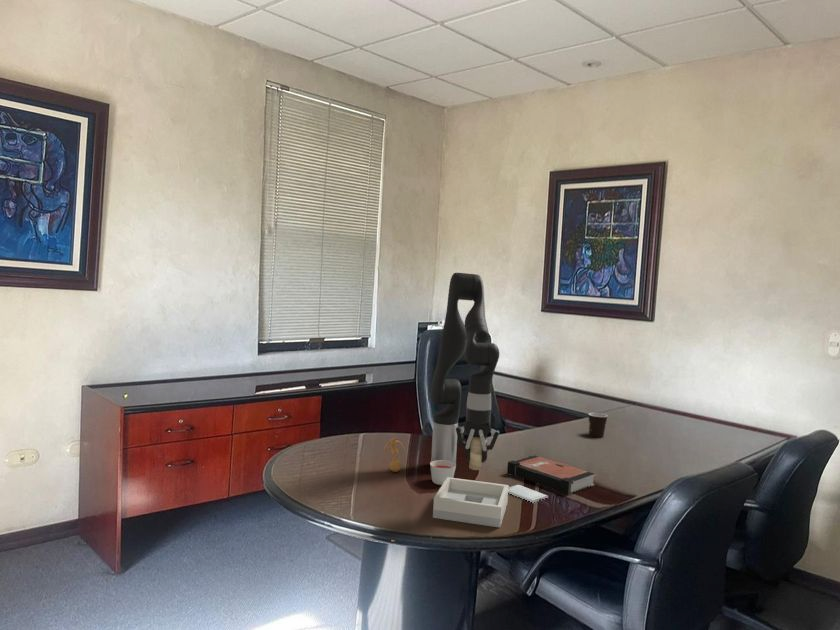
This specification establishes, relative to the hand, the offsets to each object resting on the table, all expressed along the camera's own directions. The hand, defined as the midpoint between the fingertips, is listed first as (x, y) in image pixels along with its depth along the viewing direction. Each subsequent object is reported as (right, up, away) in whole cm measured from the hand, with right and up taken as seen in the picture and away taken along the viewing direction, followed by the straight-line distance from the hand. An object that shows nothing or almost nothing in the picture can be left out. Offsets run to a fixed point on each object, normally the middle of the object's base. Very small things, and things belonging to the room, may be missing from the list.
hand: (475, 460), depth 195 cm
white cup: (-10, -13, +23) cm, 28 cm away
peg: (0, -2, 0) cm, 2 cm away
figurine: (-27, -11, +32) cm, 43 cm away
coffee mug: (+66, -11, +99) cm, 119 cm away
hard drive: (+18, -15, +14) cm, 28 cm away
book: (+30, -15, +32) cm, 46 cm away
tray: (-1, -15, -2) cm, 15 cm away
